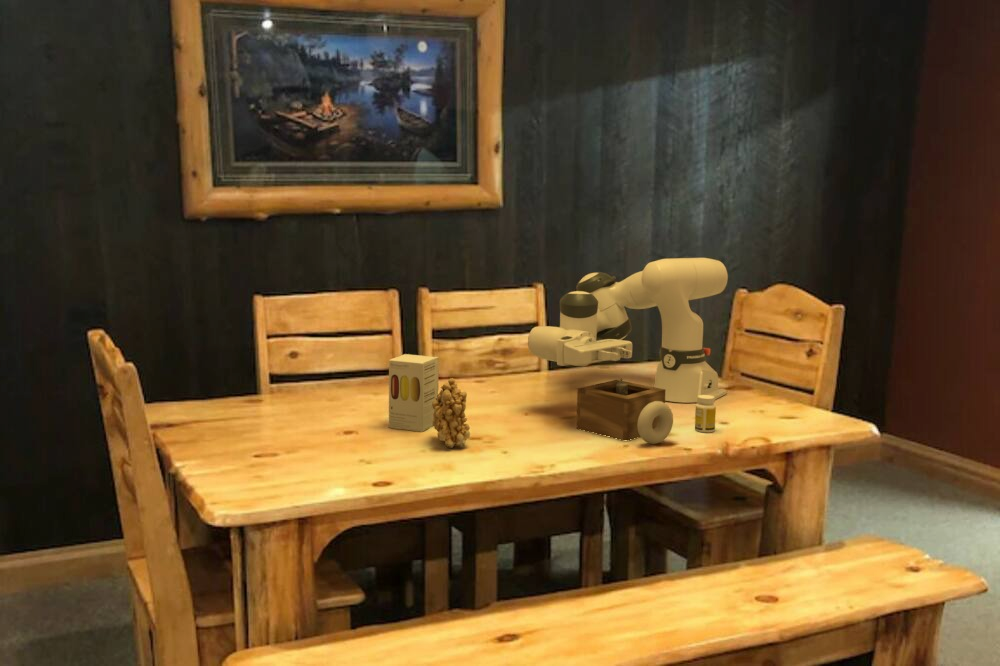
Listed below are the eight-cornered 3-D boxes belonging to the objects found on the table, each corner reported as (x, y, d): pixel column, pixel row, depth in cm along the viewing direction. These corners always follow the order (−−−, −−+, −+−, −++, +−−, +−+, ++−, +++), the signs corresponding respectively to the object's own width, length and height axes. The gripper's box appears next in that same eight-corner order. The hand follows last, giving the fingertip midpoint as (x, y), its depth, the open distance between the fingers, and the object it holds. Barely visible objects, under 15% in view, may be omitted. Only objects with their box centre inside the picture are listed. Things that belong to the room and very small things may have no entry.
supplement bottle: (715, 428, 224) (717, 395, 223) (713, 433, 220) (715, 399, 219) (695, 427, 226) (697, 393, 225) (693, 431, 222) (694, 397, 220)
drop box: (614, 418, 233) (616, 379, 232) (663, 429, 223) (665, 389, 221) (576, 428, 223) (577, 388, 221) (626, 441, 212) (627, 399, 211)
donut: (643, 448, 207) (645, 405, 205) (633, 445, 209) (634, 402, 208) (675, 442, 212) (677, 400, 211) (664, 438, 215) (666, 397, 213)
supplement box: (387, 428, 221) (386, 359, 219) (404, 419, 230) (404, 353, 227) (423, 432, 218) (423, 362, 215) (439, 423, 227) (439, 356, 224)
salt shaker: (633, 430, 219) (632, 380, 217) (609, 429, 220) (607, 380, 218) (636, 423, 224) (634, 375, 223) (612, 423, 226) (610, 375, 224)
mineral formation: (440, 452, 202) (440, 386, 199) (422, 437, 214) (422, 373, 212) (474, 449, 205) (475, 383, 202) (455, 434, 217) (455, 371, 215)
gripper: (605, 355, 237) (649, 363, 227) (552, 365, 222) (597, 374, 213) (606, 331, 236) (650, 338, 226) (553, 340, 221) (598, 347, 212)
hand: (624, 355), depth 219 cm, fingers open, 3 cm apart
